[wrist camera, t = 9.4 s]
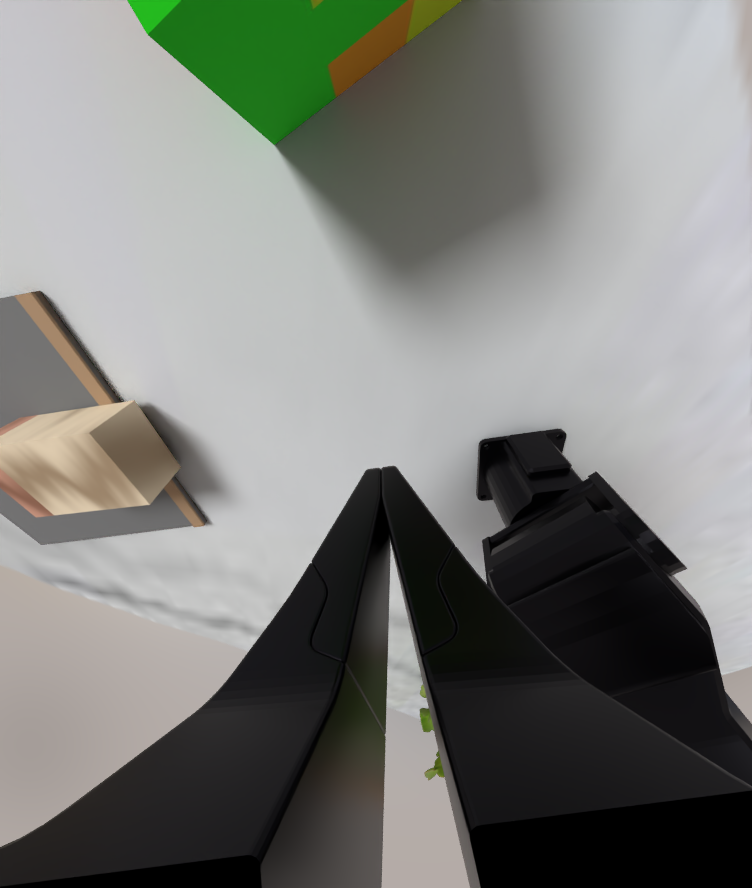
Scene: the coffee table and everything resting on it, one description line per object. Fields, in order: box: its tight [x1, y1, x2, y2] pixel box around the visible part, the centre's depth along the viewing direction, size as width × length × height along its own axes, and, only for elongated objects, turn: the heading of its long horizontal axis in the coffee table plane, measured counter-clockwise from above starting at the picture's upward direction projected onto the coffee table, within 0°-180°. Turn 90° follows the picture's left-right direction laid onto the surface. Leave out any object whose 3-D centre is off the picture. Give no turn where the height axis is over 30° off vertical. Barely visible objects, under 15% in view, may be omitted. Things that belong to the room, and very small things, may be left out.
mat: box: [0, 291, 207, 545], centre depth 24 cm, size 20×17×1 cm
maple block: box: [0, 400, 181, 517], centre depth 21 cm, size 6×4×9 cm
